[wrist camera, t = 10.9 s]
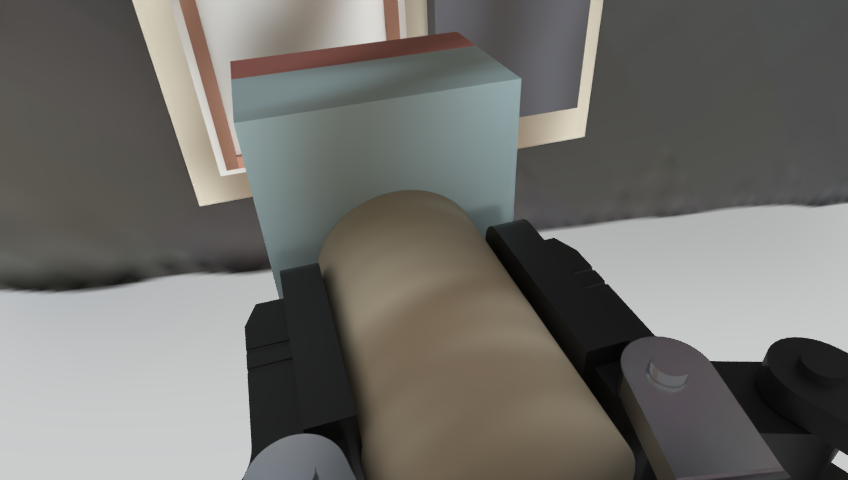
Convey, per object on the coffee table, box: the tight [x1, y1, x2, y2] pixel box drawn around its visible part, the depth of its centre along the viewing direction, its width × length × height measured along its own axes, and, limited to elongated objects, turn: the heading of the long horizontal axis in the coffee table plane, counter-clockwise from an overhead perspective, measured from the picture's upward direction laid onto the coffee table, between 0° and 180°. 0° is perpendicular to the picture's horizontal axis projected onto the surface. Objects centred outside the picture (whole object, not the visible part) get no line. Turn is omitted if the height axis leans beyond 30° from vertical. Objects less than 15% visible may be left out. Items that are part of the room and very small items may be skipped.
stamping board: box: [132, 0, 603, 206], centre depth 26 cm, size 22×15×2 cm
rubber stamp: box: [230, 32, 635, 480], centre depth 10 cm, size 5×7×9 cm
